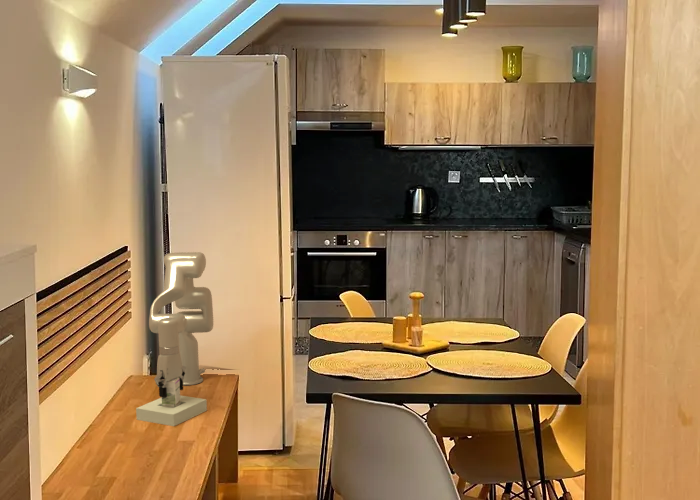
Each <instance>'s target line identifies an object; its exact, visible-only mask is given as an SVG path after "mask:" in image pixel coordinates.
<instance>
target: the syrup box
mask: <svg viewBox="0 0 700 500" xmlns="http://www.w3.org/2000/svg"><path fill="white" fill-rule="evenodd" d="M163 383H164V381H163V382H162V384H163ZM165 387H166V388H167V397H166V398H164V397H162V406H164V407H170V408H175V407H177V406H179V405H181V404H180V395H181V390H180V380H179V377H178V378H175V379H173V380H170V381H167V384H166V386H165Z"/></svg>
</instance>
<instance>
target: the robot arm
mask: <svg viewBox="0 0 700 500" xmlns="http://www.w3.org/2000/svg"><path fill="white" fill-rule="evenodd" d="M163 264H164V266H165V271H164V272H165V273H164V282H163V290H162V291H161V293H159V294H158V295H157V296H156V298H155V299H154V300H153V302H152V303H151V306H150V309H149V317H148V328H149V331H151V333H153V334H158V350H159V355H158V357H157V364H156V365H157V366H156V376H155V377H154V381H155V385H156V386H157V388H158V392H159V393H158V396H159V398H161V397H164V398H166V397H167V388H166V387H165V386H166V384H167V381H170V380H173V379H175V378H178V377H179V380H180V391H183V390H184V386H194V385H197V384H200V383H202V382H203V381H204V378H203V377H202V376H201V375H202V374H203V373H205V372H206V369H205V368H201V369H200V367H199V365H200V363H199V362H200V361H199V344H198V339H197V338H196V336H195V335H194V333H195V334H197V333H198V334H199V333H200V334H201V333H210V332H211V331H212V330H213V329H214V309H213V296H212V291H211V290H210V289H209V288H208V287H206V286H197V287H196V286H195V285H194V279H199V278H201V277H202V275H203V273H204V271H205V269H206V264H207V259H206V256H205V254H204V253H202V252H201V251H199V252H198V251H193V252H192V251H191V252H190V251H189V252H187V251H186V252H180V251H179V252H169V253H166V254H165V255H164V256H163ZM173 302H174V304H175V306H176V308H177V309H180V310H185V311H177V312H176V313H159V312H160V311H161V310H162V308H163V307H165V306H166V305H169V304H171V303H173ZM163 381H164V383H163V384H162V382H163Z"/></svg>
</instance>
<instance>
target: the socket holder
mask: <svg viewBox="0 0 700 500" xmlns="http://www.w3.org/2000/svg"><path fill="white" fill-rule="evenodd" d="M180 404H181V405H179V406H177V407H175V408H170V407H164V406H162V397H159V398H157V399H154V400H153V401H150V402H147V403H145V404H143V405H140V406H139V407H135V412H136V420H137V421H143V422H148V423H154V424H157V425H158V424H160V425H165V426H171V427H176V426H178V425H179V424H182V423H184V422H186V421H188V420H190V419H192V418H194V417H196V416H198V415H201V414H202V413H204V412H206V411H208V407H207V405H208V404H207V399H206V398H201V397H193V396H188V395H182V394H180Z"/></svg>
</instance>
